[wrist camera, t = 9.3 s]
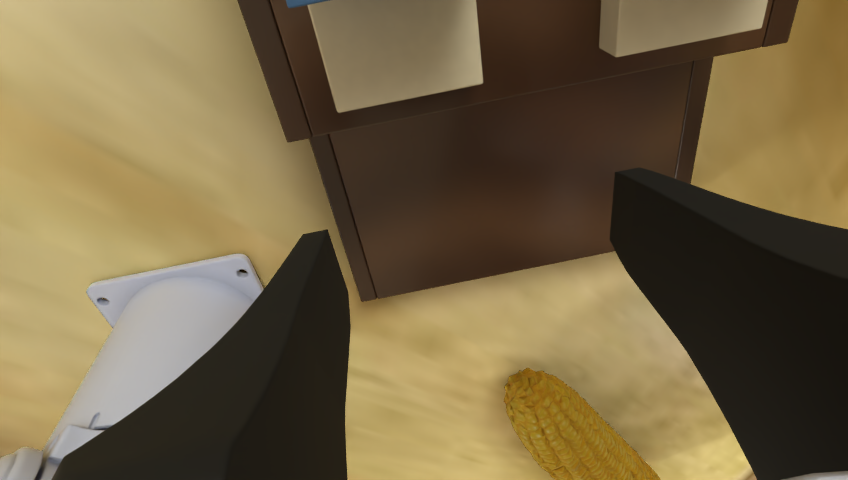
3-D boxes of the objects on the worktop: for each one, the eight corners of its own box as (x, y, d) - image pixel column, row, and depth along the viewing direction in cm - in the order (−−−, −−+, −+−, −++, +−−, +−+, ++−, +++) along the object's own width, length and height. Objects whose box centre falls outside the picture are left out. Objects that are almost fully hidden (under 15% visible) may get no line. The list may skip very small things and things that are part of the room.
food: (658, 462, 40) (700, 539, 35) (598, 490, 42) (630, 567, 37) (537, 333, 29) (573, 417, 25) (462, 376, 31) (482, 464, 26)
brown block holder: (658, 215, 25) (724, 282, 21) (361, 274, 25) (362, 355, 21) (741, -361, 14) (931, -495, 9) (197, -253, 14) (119, -334, 9)
